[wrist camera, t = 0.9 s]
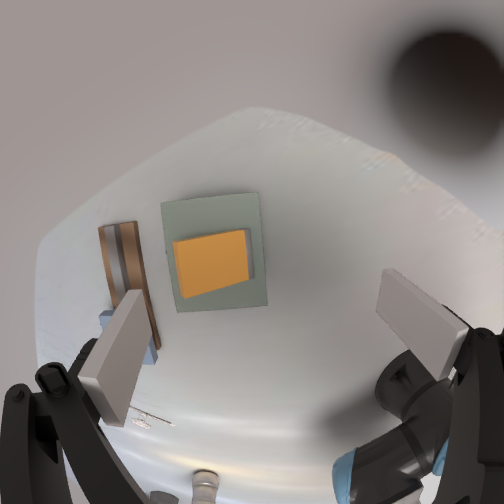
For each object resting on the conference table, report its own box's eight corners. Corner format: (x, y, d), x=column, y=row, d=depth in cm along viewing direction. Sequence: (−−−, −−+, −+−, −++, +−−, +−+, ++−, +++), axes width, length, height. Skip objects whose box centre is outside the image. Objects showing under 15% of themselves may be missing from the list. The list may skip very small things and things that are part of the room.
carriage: (161, 351, 39) (138, 399, 28) (122, 350, 39) (92, 393, 28) (149, 304, 38) (118, 344, 26) (109, 306, 37) (70, 342, 26)
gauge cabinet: (261, 278, 39) (267, 305, 29) (188, 284, 39) (171, 312, 29) (254, 192, 37) (258, 191, 27) (177, 201, 37) (155, 203, 27)
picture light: (177, 423, 45) (176, 431, 43) (172, 434, 46) (170, 441, 44) (113, 396, 44) (110, 402, 42) (111, 407, 45) (108, 414, 43)
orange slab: (250, 275, 29) (257, 277, 28) (180, 295, 24) (185, 298, 23) (245, 227, 28) (252, 228, 27) (172, 241, 23) (176, 242, 22)
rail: (161, 345, 41) (155, 356, 38) (128, 345, 41) (121, 355, 38) (137, 221, 37) (127, 223, 34) (102, 226, 37) (91, 229, 33)
